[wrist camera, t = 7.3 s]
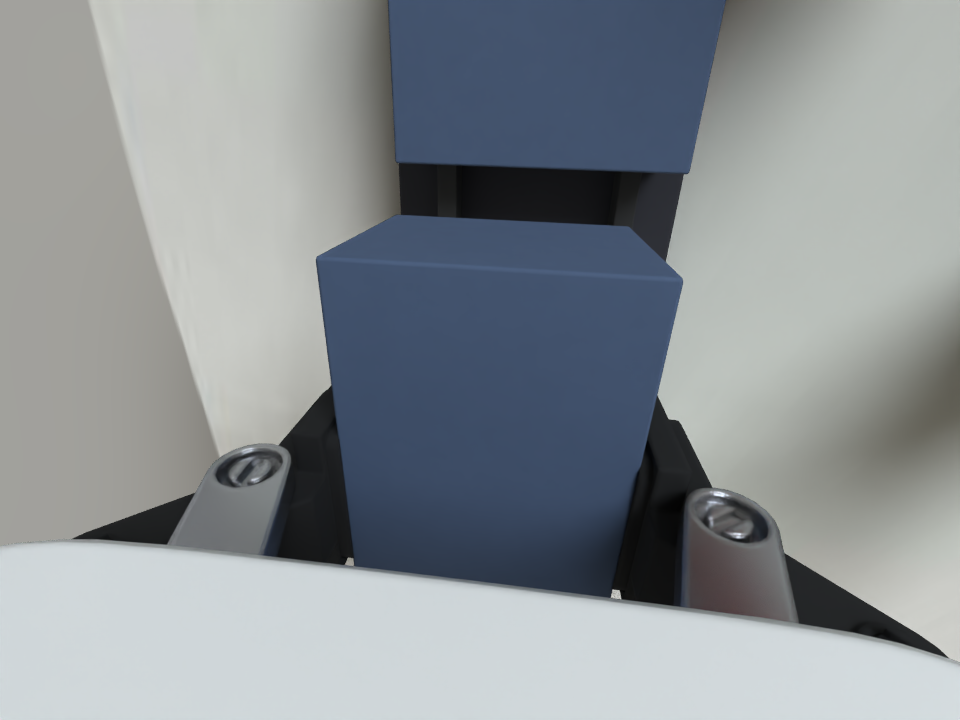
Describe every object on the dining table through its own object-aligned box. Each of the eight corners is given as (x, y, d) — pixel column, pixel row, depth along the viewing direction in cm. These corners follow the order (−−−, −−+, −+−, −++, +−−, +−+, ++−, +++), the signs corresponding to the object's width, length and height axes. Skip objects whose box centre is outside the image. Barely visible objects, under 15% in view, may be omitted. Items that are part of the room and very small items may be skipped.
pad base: (413, 388, 26) (387, 441, 21) (391, -152, 16) (336, -262, 12) (630, 406, 25) (650, 465, 20) (745, -160, 15) (831, -284, 11)
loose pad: (409, 523, 14) (364, 656, 10) (394, 214, 10) (313, 256, 6) (576, 541, 13) (590, 688, 10) (630, 226, 9) (685, 278, 6)
